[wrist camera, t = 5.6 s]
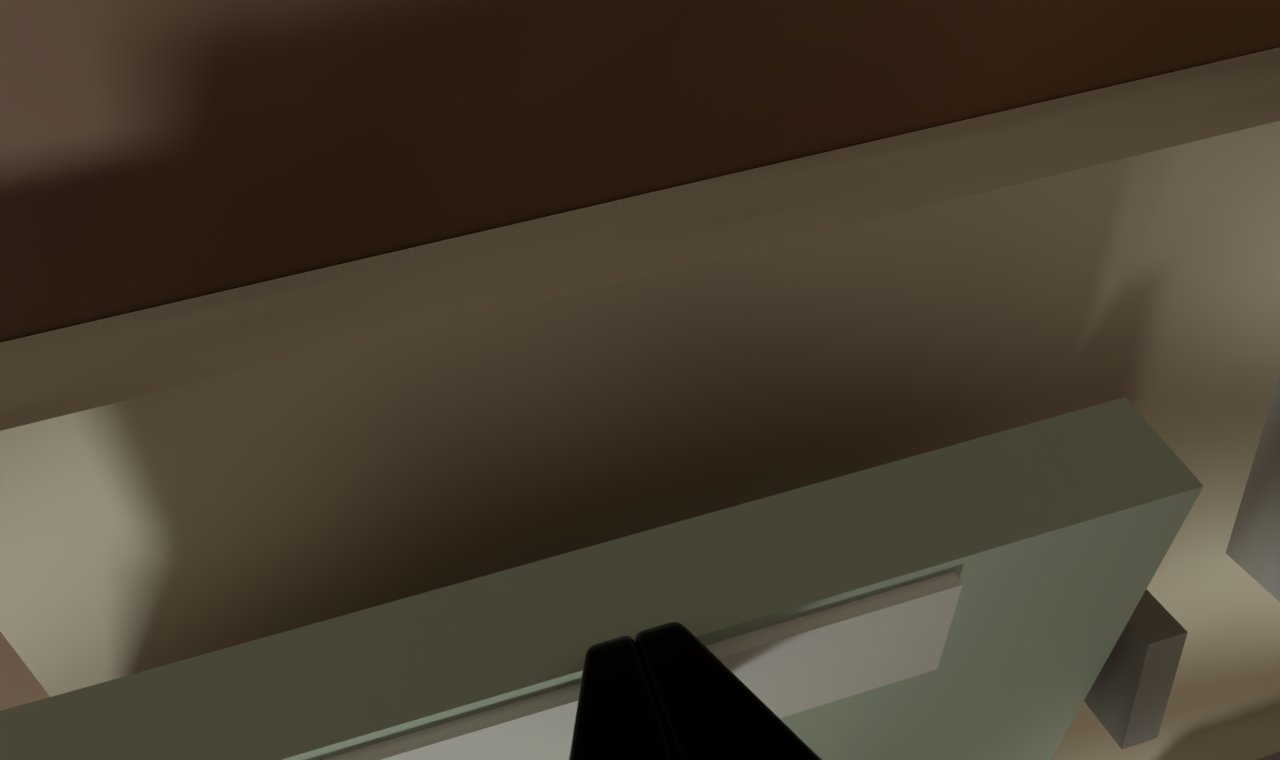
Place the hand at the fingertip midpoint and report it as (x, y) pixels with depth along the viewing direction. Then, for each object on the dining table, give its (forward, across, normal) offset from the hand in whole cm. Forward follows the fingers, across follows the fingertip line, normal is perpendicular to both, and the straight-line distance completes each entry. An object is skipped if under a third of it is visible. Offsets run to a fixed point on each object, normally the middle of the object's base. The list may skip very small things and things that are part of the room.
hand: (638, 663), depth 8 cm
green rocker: (+1, 0, +4) cm, 4 cm away
